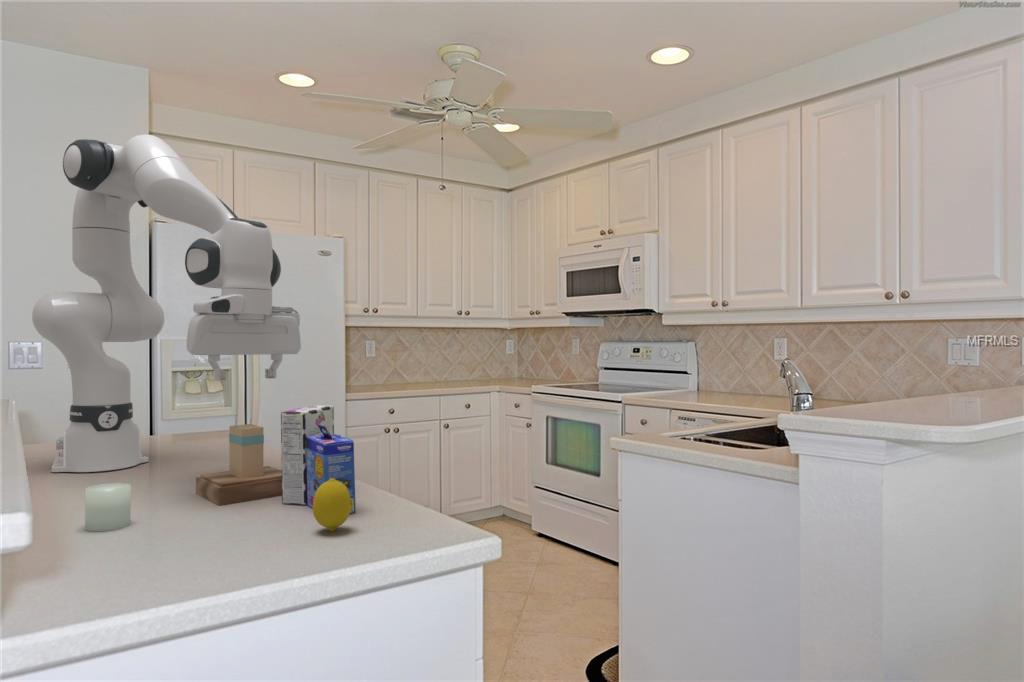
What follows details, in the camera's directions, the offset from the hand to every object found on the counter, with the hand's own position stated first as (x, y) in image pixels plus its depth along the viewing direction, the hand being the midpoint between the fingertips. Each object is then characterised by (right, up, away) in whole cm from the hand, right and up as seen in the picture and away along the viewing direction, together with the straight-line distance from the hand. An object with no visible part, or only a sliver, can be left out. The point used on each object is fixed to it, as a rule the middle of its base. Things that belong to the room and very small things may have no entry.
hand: (245, 379), depth 123 cm
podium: (0, -21, 0) cm, 21 cm away
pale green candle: (-13, -21, -22) cm, 33 cm away
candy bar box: (+13, -22, -3) cm, 25 cm away
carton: (0, -18, 0) cm, 18 cm away
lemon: (+23, -22, -24) cm, 40 cm away
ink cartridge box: (+19, -22, -11) cm, 31 cm away
